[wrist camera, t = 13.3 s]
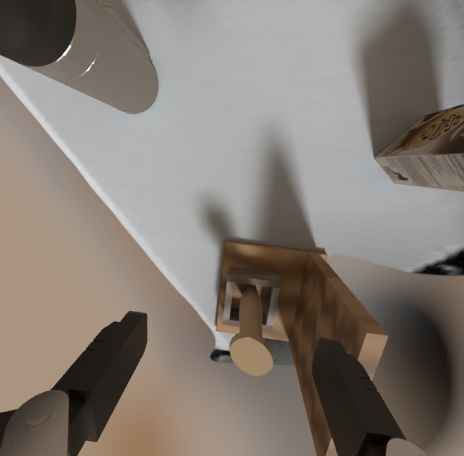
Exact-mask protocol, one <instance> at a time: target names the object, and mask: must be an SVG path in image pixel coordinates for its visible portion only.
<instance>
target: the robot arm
mask: <svg viewBox="0 0 464 456" xmlns="http://www.w3.org/2000/svg"><path fill="white" fill-rule="evenodd" d="M0 55H2V56H4V57H6V58H8V59H11V60H13V61H15V62H17V63H19V64H21V65H23V66H25V67H28V68H30V69H32V70H34V71H36V72H38V73H41V74H43V75H45V76H47V77H49V78H52V79H54V80H56V81H58V82H60V83H62V84H65V85H67V86H69V87H71V88H73V89H75V90H78V91H80V92H82V93H84V94H86V95H88V96H91V97H93V98H95V99H97V100H99V101H101V102H104V103H106V104H108V105H110V106H112V107H114V108H116V109H118V110H121V111H123V112H126V113H130V114H137V113H141V112H143V111H145V110H147V109H148V108H149V107H150V106H151V105H152V104H153V102H154V101H155V98H156V96H157V92H158V78H157V73H156V71H155V68H154V66H153V65H152V63H151V61H150V58H149V51H148V50H147V49H146V48H145V46H144V45H143V44H142V43H141V42H140V40H139V39H138V38H137V37H136V36H135V34H134V33H133V32H132V31H131V30H130V29H129V27H128V26H127V25H126V24H125V23H124V21H123V20H122V19H121V18H120V17H119V15H118V14H117V13H116V12H115V11H114V10H113V9H112V8H110V7H105V6H101V5H100V4H99V3H98V2H97V1H96V0H0ZM146 344H147V314H146V313H141V312H134V311H129V312H128V313H127V314H126V315H125V316H124V318H123V319H122V320H121V322H115V321H114V322H113V323H111V324H110V325H108V326H107V327H105V328H104V329H102V330H101V332H100V333H99V334H98V335H97V336H96V338H95V339H94V341H93V342H91V343H90V345H89V346H88V347H87V348H86V350H85V351H84V352H83V353H82V354H81V355H80V356H79V357H78V359H77V360H76V361H75V362H74V363H73V364H72V366H71V367H70V368H69V369H68V370H67V372H66V373H65V374H64V375H63V376H62V378H61V379H60V380H59V381H58V382H57V383H56V384H55V386H54V387H53V388H52V389H51V390H50V391H46V392H43V393H41V394H38V395H36V396H34V397H33V398H31V399H30V400H28V401H27V402H25V403H24V404H23V405H22V406H21V407H19V408H18V409H16V410H12V411H7V412H2V413H0V456H77V455H78V454H79V452H80V450H81V448H82V447H83V445H84V443H85V441H92V442H97V441H98V439H99V437H100V435H101V433H102V431H103V430H104V428H105V426H106V424H107V422H108V420H109V418H110V416H111V414H112V413H113V410H114V409H115V407H116V405H117V403H118V401H119V399H120V397H121V395H122V393H123V392H124V390H125V388H126V386H127V384H128V382H129V380H130V378H131V376H132V375H133V373H134V371H135V369H136V367H137V365H138V363H139V361H140V359H141V358H142V356H143V353H144V351H145V348H146ZM312 376H313V380H314V383H315V386H316V389H317V392H318V395H319V398H320V402H321V405H322V408H323V411H324V414H325V417H326V420H327V423H328V427H329V430H330V433H331V436H332V439H333V442H334V445H335V448H336V452H337V455H338V456H427V455H426V454H425V453H424V452H423V451H422V450H420V449H419V448H418V447H417V446H415V445H413V444H412V443H410V442H408V441H407V440H406V438H405V437H404V435H403V433H402V431H401V430H400V428H399V426H398V425H397V423H396V421H395V419H394V418H393V416H392V414H391V413H390V411H389V409H388V408H387V406H386V404H385V402H384V401H383V399H382V397H381V396H380V394H379V392H377V389H376V387H375V385H374V384H373V382H372V381H371V380H370V377H369V375H368V373H367V372H366V370H365V368H364V367H363V365H362V364H361V363H360V362H359V361H358V360H357V359H356V358H355V357H354V356H353V355H352V354H347V353H346V351H345V349H344V347H343V345H342V343H341V342H340V341H339V340H338V339H331V338H323V337H321V338H320V339H319V341H318V345H317V348H316V352H315V355H314V358H313V362H312Z"/></svg>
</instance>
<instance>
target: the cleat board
mask: <svg viewBox="0 0 464 456" xmlns="http://www.w3.org/2000/svg"><path fill="white" fill-rule="evenodd" d="M327 257H328V255H327V254H326V253H320V252H312V251H304V250H296V249H288V248H280V247H272V246H264V245H256V244H248V243H240V242H232V241H225V249H224V259H223V268H222V278H221V288H220V298H219V307H218V317H217V327H216V331H220V332H227V333H234V334H238V333H240V322H239V307H240V300H241V297H242V292H243V290H245V289H247V288H248V287H251V288H252V289H256V290H257V291H258V296H259V298H260V302H261V308H262V337H263V338H269V339H276V340H284V341H289V342H290V346H291V350H292V354H293V359H294V363H295V367H296V371H297V375H298V379H299V383H300V388H301V392H302V396H303V400H304V404H305V408H306V412H307V417H308V420H309V425H310V429H311V433H312V437H313V441H314V446H315V449H316V454H317V456H338V455H337V452H336V448H335V445H334V442H333V439H332V436H331V433H330V430H329V427H328V423H327V420H326V417H325V414H324V411H323V408H322V405H321V402H320V398H319V395H318V392H317V389H316V386H315V383H314V380H313V376H312V362H313V358H314V355H315V352H316V348H317V345H318V341H319V339H320V338H321V337H323V338H331V339H338V340H339V341H340V342H341V343H342V345H343V347H344V349H345V351H346V353H347V354H352V355H353V356H354V357H355V358H356V359H357V360H358V361H359V362H360V363H361V364H362V365H363V367H364V368H365V370H366V372H367V373H368V375H369V377H370V380H371V381H372V379H373V376H374V374H375V371H376V368H377V365H378V363H379V360H380V357H381V355H382V352H383V349H384V346H385V344H386V341H387V338H388V335H387V333H386V332H385V331H384V330H383V329H382V328H381V326H380V325H379V324H378V323H377V322H376V321H375V319H374V318H373V317H372V316H371V315H370V313H369V312H368V311H367V310H366V309H365V308H364V306H363V305H362V304H361V303H360V301H359V300H358V299H357V298H356V297H355V296H354V294H353V293H352V292H351V291H350V290H349V288H348V287H347V286H346V285H345V284H344V283H343V282H342V280H341V279H340V278H339V277H338V276H337V274H336V273H335V272H334V271H333V270H332V268H331V267H330V266H329V265H328V264H327V262H326V261H327Z"/></svg>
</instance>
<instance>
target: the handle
mask: <svg viewBox="0 0 464 456" xmlns="http://www.w3.org/2000/svg"><path fill="white" fill-rule="evenodd" d="M239 322H240V333H238V334H236V335H235V336H234V337H233V338H232V339H231V342H230V348H229V349H230V354H231V357H232V360H233V361H234V363H235V364H236V365H237V366H238V367H239V368H240V369H241V370H242V371H244V372H246V373H248V374H250V375H252V376H260V375H263V374H266V373H267V372H269V371H270V370H271V369H272V367H273V360H272V354H271V350H270V347H269V345H268V343H267V341H266V340H265V339H264V338H263V337H262V308H261V302H260V298H259V296H258V291H257V290H256V289H252V288H251V287H248V288H247V289H245V290H243V292H242V297H241V300H240V307H239Z"/></svg>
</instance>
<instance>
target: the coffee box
mask: <svg viewBox="0 0 464 456" xmlns="http://www.w3.org/2000/svg"><path fill="white" fill-rule="evenodd" d="M375 160H376V161H377V162H378V163H379V165H380V166H381V167H382V168H383V170H384V171H385V172H386V174H387V175H388V176H389V177H390V179H391V180H392V181H393V182H394V184H402V185H410V186H420V187H428V188H436V189H445V190H453V191H461V192H464V104H463V105H459V106H456V107H452V108H449V109H446V110H442V111H439V112H436V113H433V114H429V115H426V116H423V117H422V118H421V119H419V120H418V121H417V122H416V123H415V124H413V125H412V126H411V127H410V128H409V129H407V130H406V131H405V132H404V133H403V134H402V135H400V136H399V137H398V138H397V139H396V140H394V141H393V142H392V143H391V144H390V145H388V146H387V147H386V148H385V149H384V150H382V151H381V152H380V153H379V154H378V155H377V156H375Z"/></svg>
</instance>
